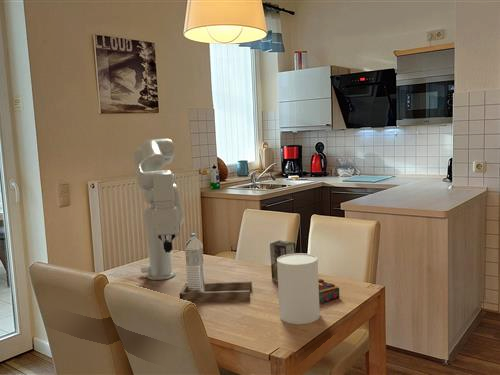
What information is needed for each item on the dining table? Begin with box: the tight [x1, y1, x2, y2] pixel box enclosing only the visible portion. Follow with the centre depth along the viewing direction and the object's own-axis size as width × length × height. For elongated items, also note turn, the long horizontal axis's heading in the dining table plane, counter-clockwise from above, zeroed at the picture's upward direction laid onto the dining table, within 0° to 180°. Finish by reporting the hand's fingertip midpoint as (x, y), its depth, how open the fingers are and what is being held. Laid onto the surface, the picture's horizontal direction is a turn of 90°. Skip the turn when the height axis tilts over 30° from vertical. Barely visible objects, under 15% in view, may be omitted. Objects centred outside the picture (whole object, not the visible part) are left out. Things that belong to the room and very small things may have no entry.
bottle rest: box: [179, 280, 253, 303], centre depth 192 cm, size 27×12×4 cm, turn 86°
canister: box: [277, 252, 321, 325], centre depth 167 cm, size 14×14×20 cm
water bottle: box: [184, 232, 206, 292], centre depth 191 cm, size 7×7×25 cm
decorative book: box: [318, 278, 340, 306], centre depth 185 cm, size 11×16×5 cm
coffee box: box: [269, 240, 297, 283], centre depth 205 cm, size 9×6×16 cm
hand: (168, 251), depth 191 cm, fingers closed
